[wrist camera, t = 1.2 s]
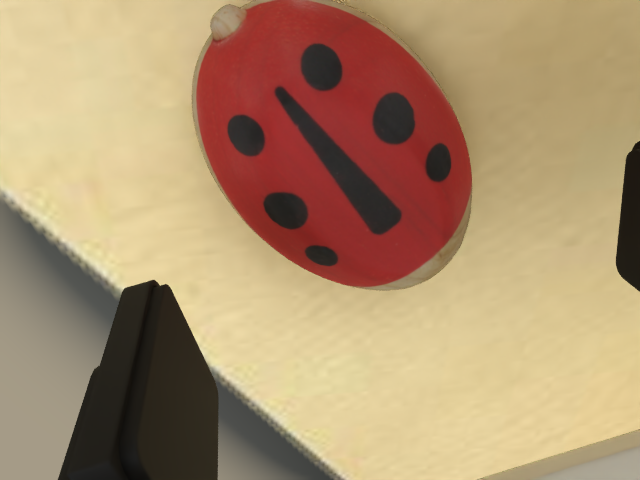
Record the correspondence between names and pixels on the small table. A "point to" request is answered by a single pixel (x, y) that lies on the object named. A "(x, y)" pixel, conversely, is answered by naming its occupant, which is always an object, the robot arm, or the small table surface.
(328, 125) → the ladybug figurine
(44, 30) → the small table surface
